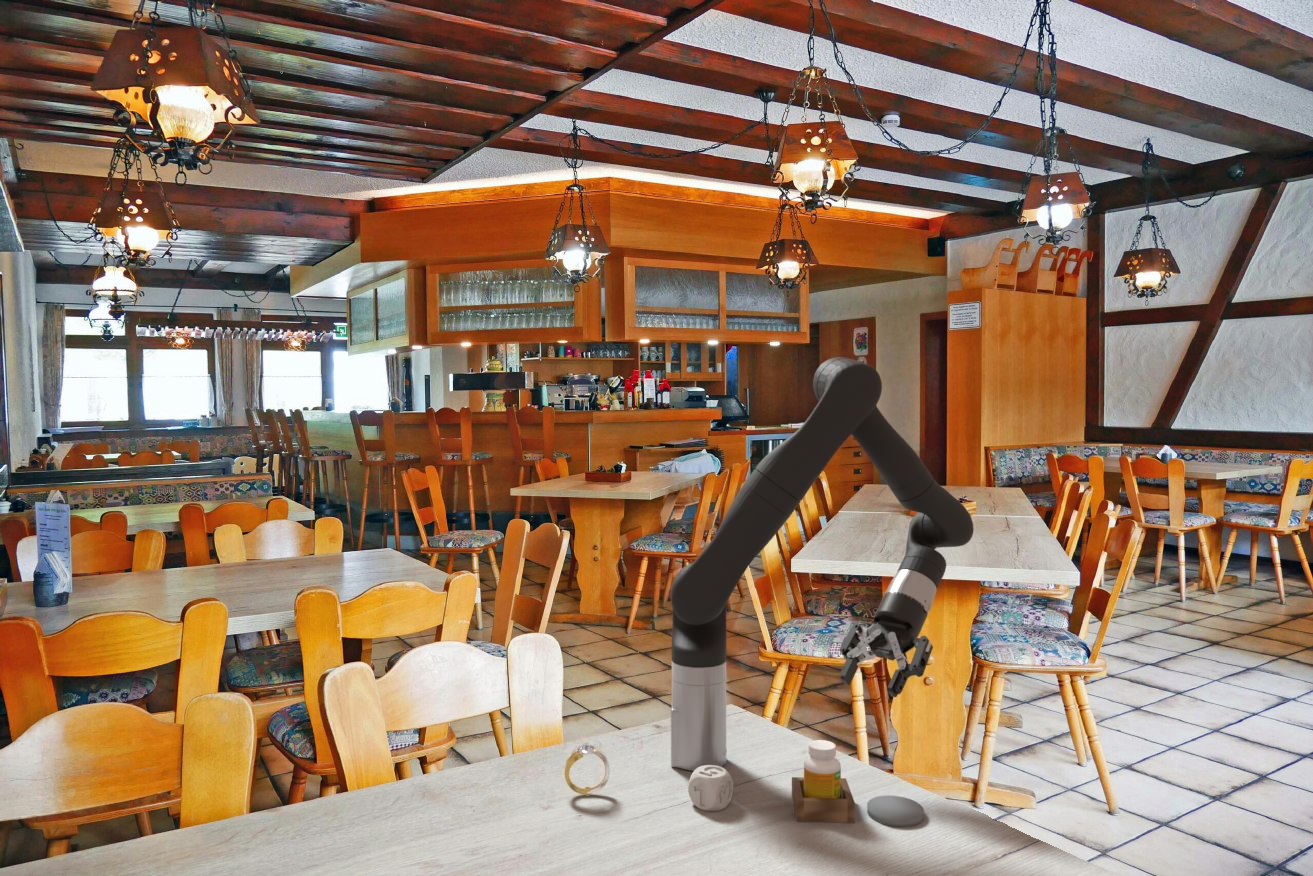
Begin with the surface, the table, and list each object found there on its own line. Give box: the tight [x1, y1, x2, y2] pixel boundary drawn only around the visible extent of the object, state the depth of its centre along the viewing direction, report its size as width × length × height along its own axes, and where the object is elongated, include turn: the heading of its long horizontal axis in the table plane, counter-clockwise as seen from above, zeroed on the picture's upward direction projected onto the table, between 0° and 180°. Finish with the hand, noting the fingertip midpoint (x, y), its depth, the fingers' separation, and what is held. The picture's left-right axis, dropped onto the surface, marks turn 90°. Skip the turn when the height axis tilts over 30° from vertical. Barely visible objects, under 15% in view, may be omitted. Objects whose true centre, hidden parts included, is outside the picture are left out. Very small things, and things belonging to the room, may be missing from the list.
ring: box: [564, 741, 611, 797], centre depth 136 cm, size 7×3×8 cm, turn 93°
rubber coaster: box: [866, 794, 925, 828], centre depth 129 cm, size 8×8×1 cm
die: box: [687, 765, 734, 812], centre depth 133 cm, size 5×5×5 cm
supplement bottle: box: [803, 739, 842, 799], centre depth 131 cm, size 5×5×10 cm
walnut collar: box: [791, 776, 856, 824], centre depth 131 cm, size 8×8×3 cm
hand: (867, 688), depth 138 cm, fingers open, 8 cm apart
